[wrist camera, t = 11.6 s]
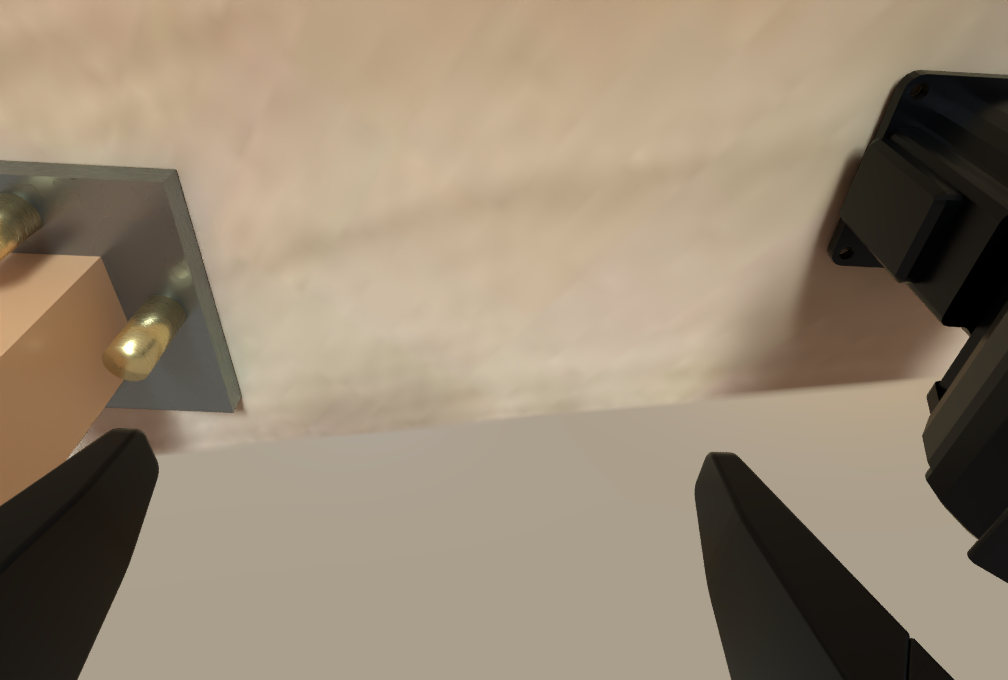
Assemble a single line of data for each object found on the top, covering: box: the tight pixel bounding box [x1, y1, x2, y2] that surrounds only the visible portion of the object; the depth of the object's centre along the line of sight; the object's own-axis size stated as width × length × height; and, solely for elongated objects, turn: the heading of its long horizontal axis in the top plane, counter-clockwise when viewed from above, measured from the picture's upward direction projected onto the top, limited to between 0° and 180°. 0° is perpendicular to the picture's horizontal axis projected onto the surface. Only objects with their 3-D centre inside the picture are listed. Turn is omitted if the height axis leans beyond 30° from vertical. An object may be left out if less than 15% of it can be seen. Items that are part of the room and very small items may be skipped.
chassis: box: [0, 161, 241, 445], centre depth 22 cm, size 10×10×4 cm
